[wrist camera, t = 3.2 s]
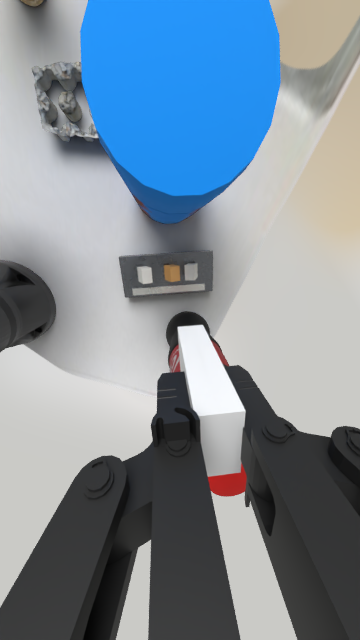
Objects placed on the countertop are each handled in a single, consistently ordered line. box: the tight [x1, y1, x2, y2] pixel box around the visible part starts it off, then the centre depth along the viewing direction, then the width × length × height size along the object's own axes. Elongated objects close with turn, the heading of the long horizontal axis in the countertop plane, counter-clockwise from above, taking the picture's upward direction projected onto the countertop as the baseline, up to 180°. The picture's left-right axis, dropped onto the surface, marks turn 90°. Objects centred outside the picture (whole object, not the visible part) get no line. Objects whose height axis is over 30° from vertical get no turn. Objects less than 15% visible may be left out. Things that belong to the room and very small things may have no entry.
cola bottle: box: [166, 312, 247, 496], centre depth 29 cm, size 8×8×30 cm
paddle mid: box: [164, 264, 180, 282], centre depth 34 cm, size 2×2×3 cm
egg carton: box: [32, 62, 99, 141], centre depth 28 cm, size 11×8×4 cm
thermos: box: [80, 0, 280, 224], centre depth 22 cm, size 11×11×25 cm
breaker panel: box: [119, 251, 213, 297], centre depth 38 cm, size 16×7×3 cm, turn 93°
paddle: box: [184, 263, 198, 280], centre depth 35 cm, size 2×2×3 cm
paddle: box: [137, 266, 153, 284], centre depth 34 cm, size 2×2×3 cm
